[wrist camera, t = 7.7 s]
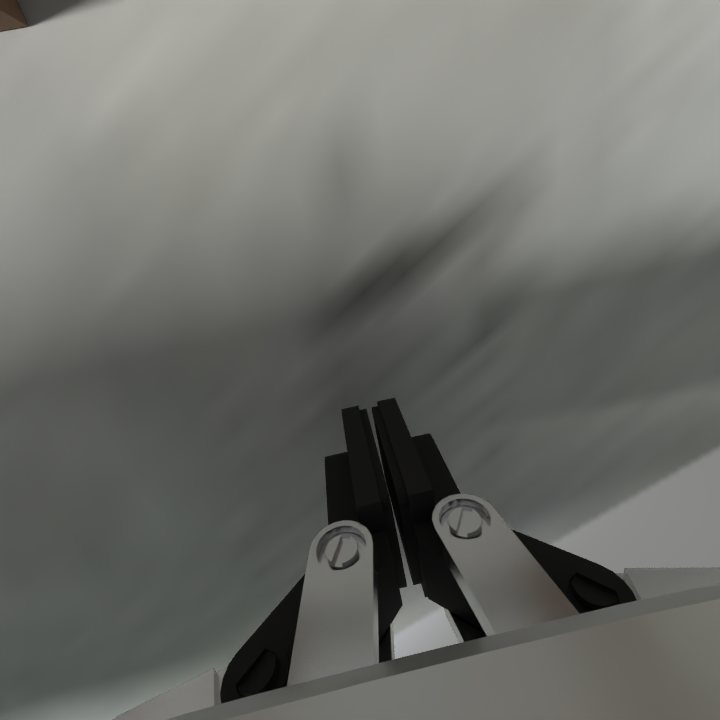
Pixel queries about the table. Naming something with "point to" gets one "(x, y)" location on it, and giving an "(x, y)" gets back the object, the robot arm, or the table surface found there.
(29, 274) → the table surface
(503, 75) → the table surface
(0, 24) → the brown arch
